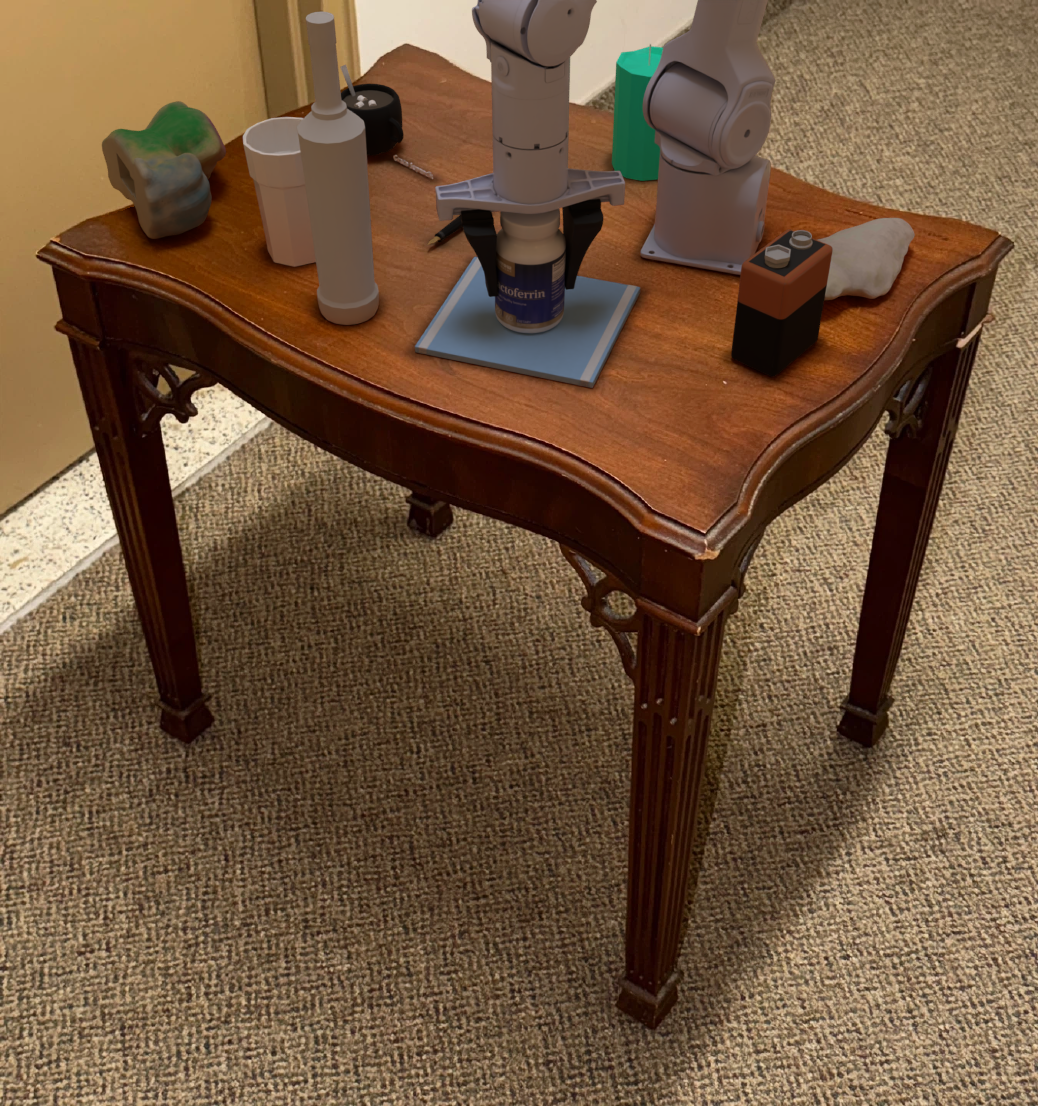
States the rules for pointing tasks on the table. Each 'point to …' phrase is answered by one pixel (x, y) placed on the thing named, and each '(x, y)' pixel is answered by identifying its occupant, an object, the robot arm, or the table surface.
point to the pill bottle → (530, 271)
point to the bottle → (337, 187)
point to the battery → (780, 301)
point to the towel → (552, 354)
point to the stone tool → (867, 257)
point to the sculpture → (166, 168)
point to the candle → (634, 116)
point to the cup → (280, 189)
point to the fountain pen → (447, 230)
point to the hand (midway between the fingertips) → (530, 286)
